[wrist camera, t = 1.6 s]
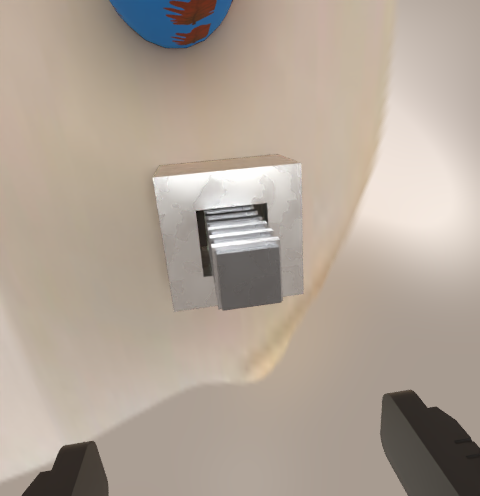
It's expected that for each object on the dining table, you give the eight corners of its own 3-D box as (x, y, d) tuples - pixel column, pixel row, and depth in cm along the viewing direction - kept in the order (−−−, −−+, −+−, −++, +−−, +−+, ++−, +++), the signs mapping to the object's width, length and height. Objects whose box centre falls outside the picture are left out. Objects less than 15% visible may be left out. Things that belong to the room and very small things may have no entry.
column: (247, 234, 39) (285, 305, 25) (206, 239, 39) (219, 314, 24) (244, 194, 38) (282, 242, 23) (201, 198, 37) (212, 251, 22)
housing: (282, 267, 41) (303, 299, 34) (176, 280, 40) (174, 317, 33) (277, 154, 37) (301, 163, 30) (159, 165, 36) (152, 177, 28)
